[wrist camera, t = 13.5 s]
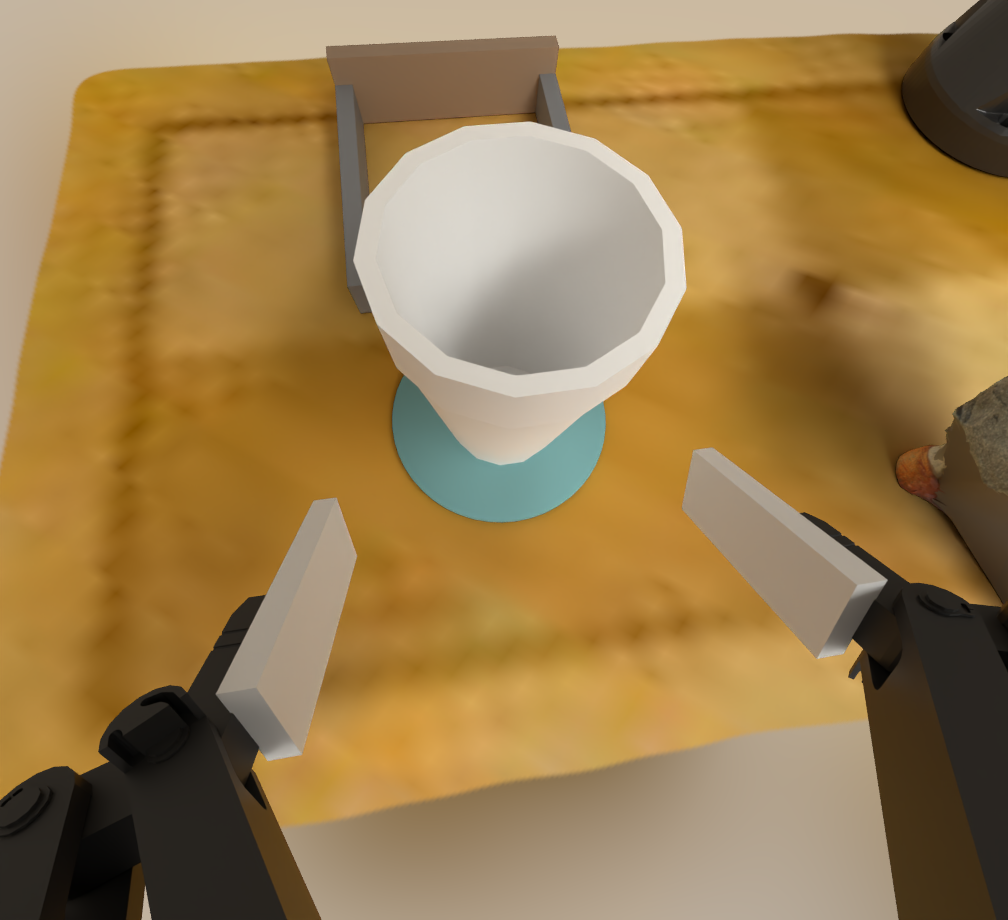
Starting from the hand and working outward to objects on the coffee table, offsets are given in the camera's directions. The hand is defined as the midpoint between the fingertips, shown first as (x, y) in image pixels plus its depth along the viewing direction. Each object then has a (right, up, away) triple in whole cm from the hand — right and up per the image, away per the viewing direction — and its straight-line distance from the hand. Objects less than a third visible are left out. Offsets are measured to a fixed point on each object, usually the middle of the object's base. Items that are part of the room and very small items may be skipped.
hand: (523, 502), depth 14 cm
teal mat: (-1, +4, +9) cm, 10 cm away
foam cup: (-1, +4, +9) cm, 10 cm away
